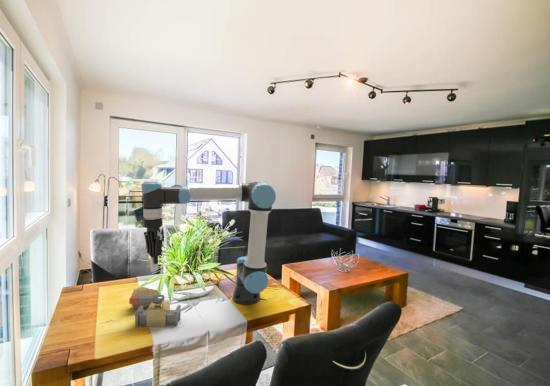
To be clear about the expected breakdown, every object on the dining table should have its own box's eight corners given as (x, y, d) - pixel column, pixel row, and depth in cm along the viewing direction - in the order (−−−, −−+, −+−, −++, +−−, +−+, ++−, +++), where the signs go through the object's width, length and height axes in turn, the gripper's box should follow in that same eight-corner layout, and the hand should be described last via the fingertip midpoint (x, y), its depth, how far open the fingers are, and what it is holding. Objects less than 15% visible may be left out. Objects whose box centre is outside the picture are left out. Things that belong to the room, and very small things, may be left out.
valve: (180, 317, 130) (180, 297, 130) (177, 326, 123) (177, 304, 123) (140, 318, 128) (140, 298, 128) (134, 327, 121) (134, 305, 121)
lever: (165, 299, 128) (165, 294, 128) (162, 304, 123) (162, 298, 123) (132, 299, 126) (132, 294, 126) (128, 305, 121) (128, 299, 121)
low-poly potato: (122, 312, 134) (133, 307, 128) (124, 288, 139) (135, 283, 133) (152, 310, 145) (164, 306, 139) (153, 288, 150) (164, 283, 144)
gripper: (169, 218, 120) (170, 271, 122) (153, 215, 128) (154, 264, 130) (152, 220, 114) (154, 276, 116) (137, 217, 122) (138, 269, 124)
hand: (154, 270), depth 123 cm, fingers closed
